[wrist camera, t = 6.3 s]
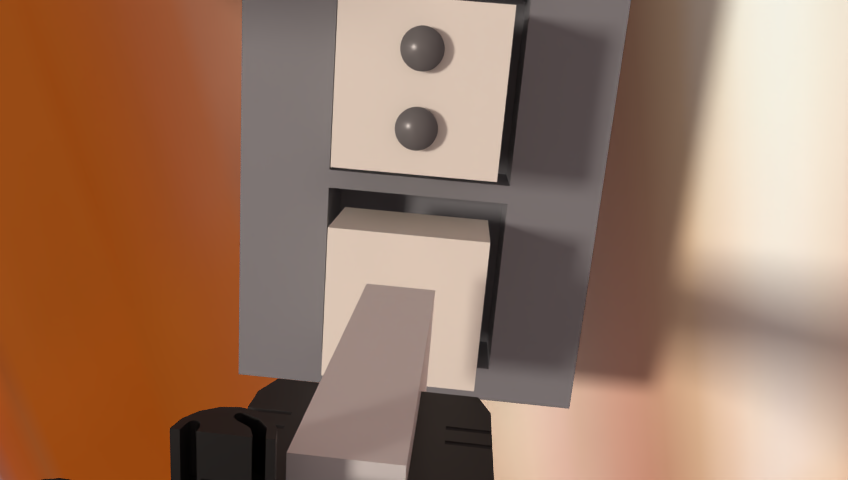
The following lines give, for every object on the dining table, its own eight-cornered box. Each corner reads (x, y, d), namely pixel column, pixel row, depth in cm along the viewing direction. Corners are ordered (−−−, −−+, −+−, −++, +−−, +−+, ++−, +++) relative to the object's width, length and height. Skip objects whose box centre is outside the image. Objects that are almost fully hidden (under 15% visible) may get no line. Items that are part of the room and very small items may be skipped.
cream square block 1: (338, 338, 20) (319, 378, 18) (345, 207, 19) (326, 229, 16) (473, 353, 20) (474, 394, 17) (487, 220, 19) (490, 244, 16)
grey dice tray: (267, 335, 24) (239, 374, 21) (280, -266, 19) (245, -326, 16) (556, 364, 23) (569, 408, 20) (644, -243, 18) (676, -300, 15)
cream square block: (348, 153, 19) (328, 168, 16) (355, -1, 18) (336, -11, 15) (493, 166, 18) (497, 183, 16) (510, 12, 17) (517, 3, 15)
